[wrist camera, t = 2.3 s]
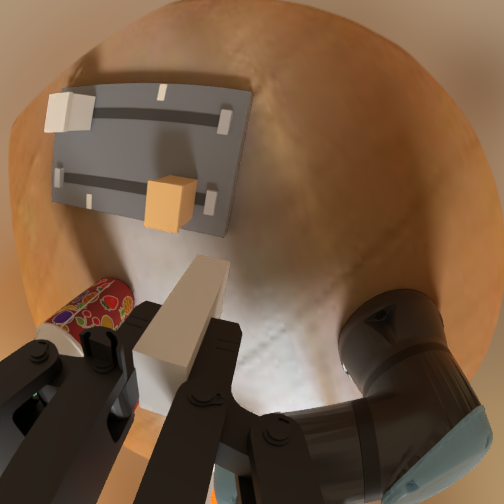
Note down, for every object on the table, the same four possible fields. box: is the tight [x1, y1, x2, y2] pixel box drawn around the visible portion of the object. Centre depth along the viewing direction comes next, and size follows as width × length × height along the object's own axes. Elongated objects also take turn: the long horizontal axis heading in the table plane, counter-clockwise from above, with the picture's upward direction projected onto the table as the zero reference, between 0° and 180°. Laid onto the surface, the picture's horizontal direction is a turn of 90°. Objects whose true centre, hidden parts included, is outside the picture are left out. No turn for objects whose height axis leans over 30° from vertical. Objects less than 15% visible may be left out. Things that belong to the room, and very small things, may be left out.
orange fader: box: [144, 175, 198, 234], centre depth 25 cm, size 3×4×5 cm
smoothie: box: [33, 278, 135, 396], centre depth 27 cm, size 8×8×20 cm
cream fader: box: [44, 92, 96, 132], centre depth 23 cm, size 3×4×5 cm
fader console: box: [52, 83, 254, 238], centre depth 27 cm, size 24×15×3 cm, turn 79°
